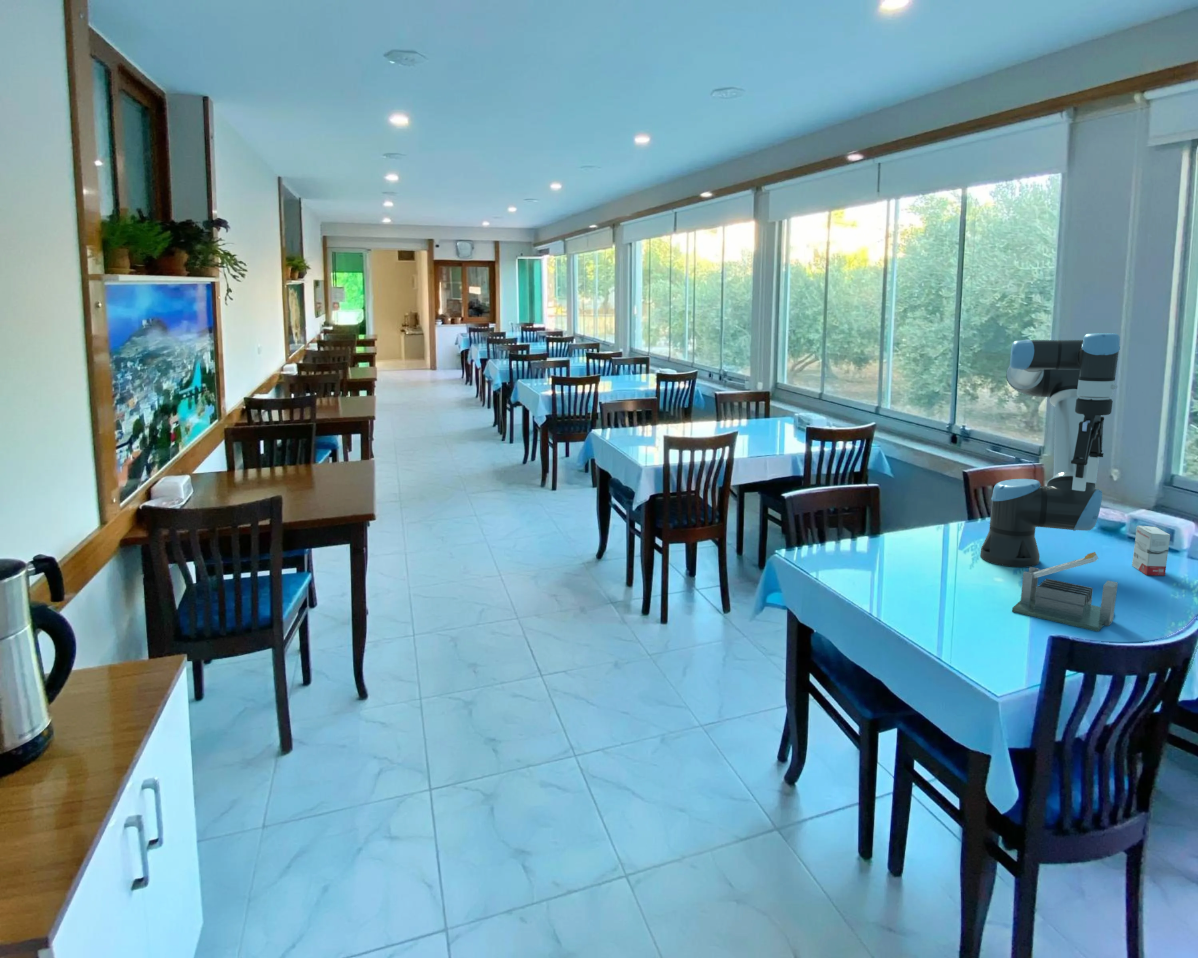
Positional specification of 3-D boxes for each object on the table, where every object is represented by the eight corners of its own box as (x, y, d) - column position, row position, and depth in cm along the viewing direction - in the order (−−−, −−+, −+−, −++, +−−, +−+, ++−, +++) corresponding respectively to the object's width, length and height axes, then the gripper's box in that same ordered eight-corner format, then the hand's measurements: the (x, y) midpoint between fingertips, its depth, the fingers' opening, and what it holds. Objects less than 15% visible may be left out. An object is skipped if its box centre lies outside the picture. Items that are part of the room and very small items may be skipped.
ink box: (1166, 576, 206) (1172, 534, 204) (1145, 575, 207) (1151, 533, 205) (1150, 566, 215) (1155, 525, 212) (1130, 565, 216) (1136, 525, 213)
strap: (1027, 580, 187) (1024, 574, 187) (1031, 577, 189) (1028, 570, 190) (1095, 562, 176) (1091, 555, 176) (1098, 558, 178) (1095, 551, 179)
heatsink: (1012, 611, 186) (1015, 574, 184) (1029, 595, 195) (1033, 560, 193) (1103, 632, 173) (1108, 593, 170) (1117, 614, 182) (1122, 576, 180)
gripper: (1101, 403, 176) (1090, 497, 181) (1123, 394, 192) (1112, 480, 197) (1064, 401, 181) (1054, 492, 186) (1088, 392, 197) (1078, 476, 202)
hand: (1084, 486), depth 191 cm, fingers open, 10 cm apart
